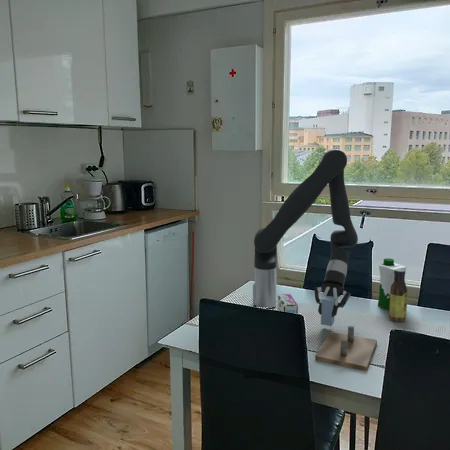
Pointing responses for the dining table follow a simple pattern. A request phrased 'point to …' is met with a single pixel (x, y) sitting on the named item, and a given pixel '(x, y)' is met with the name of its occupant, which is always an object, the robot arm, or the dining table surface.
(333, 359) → the wooden peg board
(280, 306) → the candy bar box
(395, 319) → the sauce bottle
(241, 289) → the dining table surface
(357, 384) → the dining table surface
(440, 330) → the dining table surface
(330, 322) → the block
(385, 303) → the milk carton
